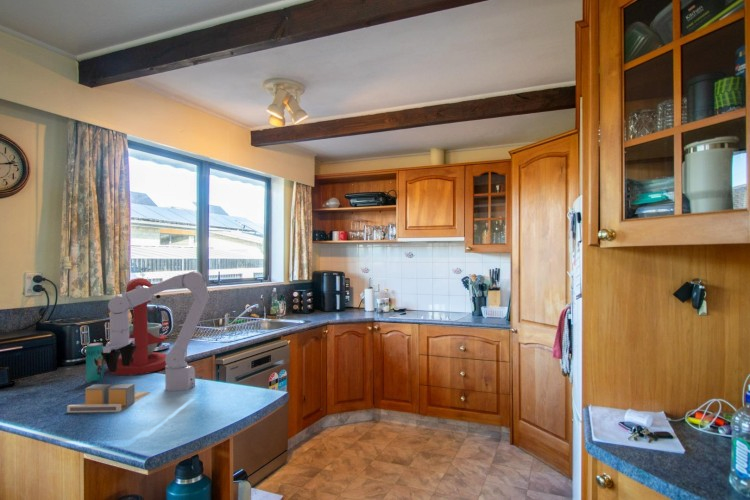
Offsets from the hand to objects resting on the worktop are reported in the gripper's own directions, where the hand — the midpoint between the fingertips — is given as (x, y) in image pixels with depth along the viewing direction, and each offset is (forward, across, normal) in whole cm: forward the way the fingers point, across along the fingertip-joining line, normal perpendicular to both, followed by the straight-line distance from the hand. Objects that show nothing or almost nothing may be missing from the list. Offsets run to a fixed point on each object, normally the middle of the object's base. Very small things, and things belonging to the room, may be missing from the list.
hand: (119, 368), depth 141 cm
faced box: (+9, +11, +8) cm, 16 cm away
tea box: (+9, +11, 0) cm, 14 cm away
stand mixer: (+10, -40, -16) cm, 44 cm away
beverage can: (+10, -18, -21) cm, 29 cm away
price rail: (+9, +16, +2) cm, 19 cm away
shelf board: (+10, +8, +2) cm, 13 cm away
